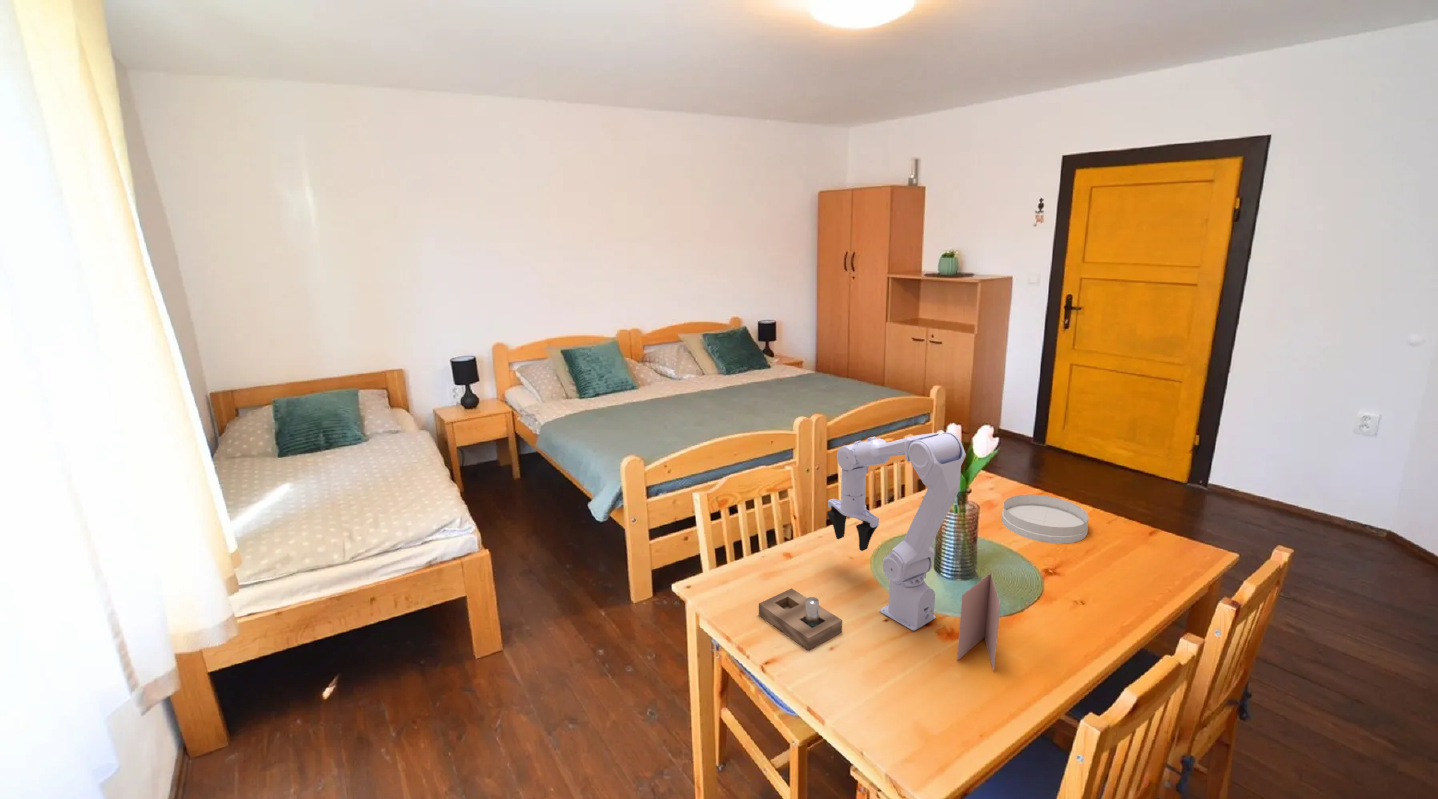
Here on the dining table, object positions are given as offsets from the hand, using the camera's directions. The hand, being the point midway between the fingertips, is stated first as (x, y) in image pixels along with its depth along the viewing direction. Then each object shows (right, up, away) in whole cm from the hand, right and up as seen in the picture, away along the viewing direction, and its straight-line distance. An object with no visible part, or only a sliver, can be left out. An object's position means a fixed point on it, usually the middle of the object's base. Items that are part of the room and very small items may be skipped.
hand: (851, 543), depth 157 cm
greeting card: (+21, -17, -27) cm, 38 cm away
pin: (-12, -14, -19) cm, 27 cm away
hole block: (-15, -14, -15) cm, 26 cm away
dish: (+61, -1, +27) cm, 66 cm away
